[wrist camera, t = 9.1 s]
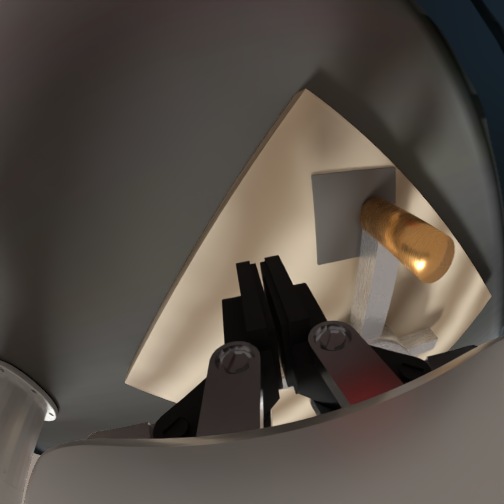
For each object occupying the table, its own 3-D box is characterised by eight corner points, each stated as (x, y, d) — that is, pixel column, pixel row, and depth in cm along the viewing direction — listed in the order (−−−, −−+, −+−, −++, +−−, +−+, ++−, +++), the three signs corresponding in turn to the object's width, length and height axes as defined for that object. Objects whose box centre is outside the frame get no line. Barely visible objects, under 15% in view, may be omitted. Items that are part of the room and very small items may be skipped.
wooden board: (128, 367, 22) (124, 384, 20) (296, 92, 14) (306, 87, 12) (345, 423, 31) (350, 435, 29) (481, 287, 24) (492, 297, 22)
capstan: (402, 386, 25) (424, 424, 19) (255, 421, 24) (263, 472, 18) (463, 196, 15) (521, 226, 10) (233, 205, 14) (241, 256, 9)
